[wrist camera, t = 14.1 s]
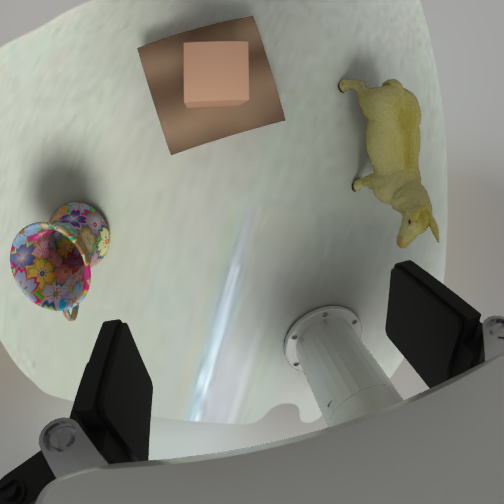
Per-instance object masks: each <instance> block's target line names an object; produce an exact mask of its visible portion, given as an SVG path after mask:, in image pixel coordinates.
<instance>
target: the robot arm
mask: <svg viewBox="0 0 504 504" xmlns="http://www.w3.org/2000/svg"><path fill="white" fill-rule="evenodd" d="M480 317H481V314H480V313H479V312H478V311H477V310H475V309H474V308H473V307H472V306H470V305H469V304H468V303H467V302H465V301H464V300H463V299H462V298H460V297H459V296H458V295H456V294H455V293H454V292H453V291H451V290H450V289H449V288H447V287H446V286H445V285H444V284H442V283H441V282H440V281H438V280H437V279H436V278H434V277H433V276H432V275H430V274H429V273H428V272H426V271H425V270H423V269H422V268H421V267H419V266H418V265H417V264H415V263H414V262H412V261H411V260H408V261H404V262H400V263H397V264H395V266H394V268H393V269H392V270H391V278H390V290H389V301H388V310H387V319H386V328H385V329H386V334H387V336H388V338H389V339H390V340H391V341H392V342H393V344H394V345H395V346H396V347H397V348H398V350H399V351H400V352H401V353H402V354H403V356H404V357H405V358H406V359H407V361H408V362H409V363H410V364H411V365H412V367H413V368H414V369H415V370H416V372H417V373H418V374H419V375H420V377H421V378H422V379H423V380H424V382H425V383H426V384H427V386H428V387H429V388H430V389H428V390H426V391H424V392H422V393H420V394H417V395H415V396H413V397H410V398H408V399H406V400H404V399H403V398H402V397H401V395H400V394H399V392H398V391H397V389H396V388H395V387H394V385H393V384H392V382H391V381H390V379H389V378H388V377H387V375H386V374H385V372H384V371H383V370H382V368H381V367H380V365H379V364H378V363H377V361H376V360H375V358H374V357H373V356H372V354H371V353H370V351H369V350H368V349H367V347H366V346H365V345H364V343H363V342H362V340H361V334H362V327H361V323H360V321H359V319H358V318H357V316H356V315H355V314H354V313H353V312H352V311H350V310H349V309H347V308H345V307H341V306H326V307H321V308H318V309H315V310H313V311H311V312H309V313H307V314H306V315H304V316H303V317H302V318H300V319H299V320H298V321H297V322H296V323H295V324H294V325H293V326H292V328H291V329H290V331H289V332H288V334H287V336H286V339H285V343H284V352H285V356H286V358H287V360H288V362H289V364H290V365H291V366H292V367H293V368H295V369H296V370H298V371H300V372H304V374H305V376H306V378H307V381H308V383H309V385H310V388H311V390H312V392H313V394H314V397H315V399H316V401H317V403H318V406H319V408H320V410H321V412H322V415H323V417H324V419H325V421H326V424H327V426H328V428H325V429H322V430H318V431H314V432H311V433H307V434H303V435H300V436H296V437H292V438H288V439H284V440H280V441H276V442H271V443H266V444H262V445H257V446H252V447H247V448H242V449H236V450H231V451H225V452H218V453H212V454H205V455H197V456H189V457H181V458H173V459H163V460H150V461H148V455H149V435H150V418H151V406H152V394H153V385H152V381H151V378H150V376H149V374H148V372H147V369H146V367H145V365H144V363H143V360H142V358H141V356H140V353H139V351H138V349H137V346H136V344H135V341H134V339H133V337H132V334H131V332H130V329H129V327H128V325H127V323H122V321H121V320H119V319H118V320H112V321H105V322H103V324H102V327H101V330H100V332H99V335H98V338H97V340H96V343H95V346H94V349H93V351H92V354H91V357H90V360H89V362H88V363H87V365H86V367H85V370H84V373H83V376H82V379H81V382H80V385H79V388H78V391H77V395H76V398H75V401H74V405H73V408H72V411H71V415H70V418H59V419H55V420H53V421H51V422H50V423H49V424H47V425H46V426H45V427H44V429H43V430H42V432H41V434H40V436H39V445H40V448H41V451H39V452H38V453H36V454H35V455H34V456H32V457H31V458H29V459H28V460H27V461H25V462H24V463H23V464H21V465H20V466H18V467H17V468H15V469H14V470H12V471H11V472H9V473H8V474H7V475H5V476H4V477H3V478H2V479H1V480H0V504H504V317H502V316H491V317H488V318H487V319H486V320H484V322H483V324H482V323H481V322H480V321H479V320H480Z"/></svg>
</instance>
